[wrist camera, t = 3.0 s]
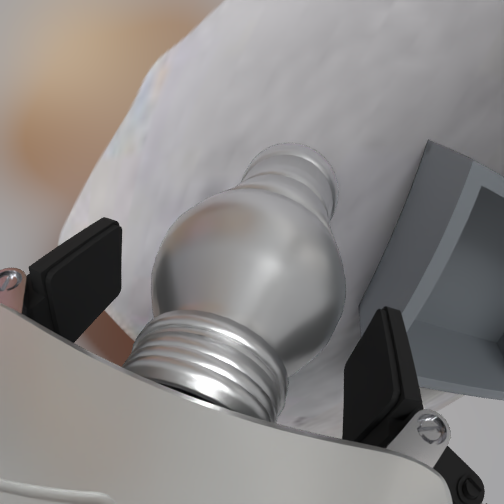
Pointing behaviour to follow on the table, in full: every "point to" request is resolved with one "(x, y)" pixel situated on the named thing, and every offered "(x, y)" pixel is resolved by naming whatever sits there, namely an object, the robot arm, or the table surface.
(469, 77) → the table surface
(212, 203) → the silver aluminium bottle
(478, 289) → the bin
